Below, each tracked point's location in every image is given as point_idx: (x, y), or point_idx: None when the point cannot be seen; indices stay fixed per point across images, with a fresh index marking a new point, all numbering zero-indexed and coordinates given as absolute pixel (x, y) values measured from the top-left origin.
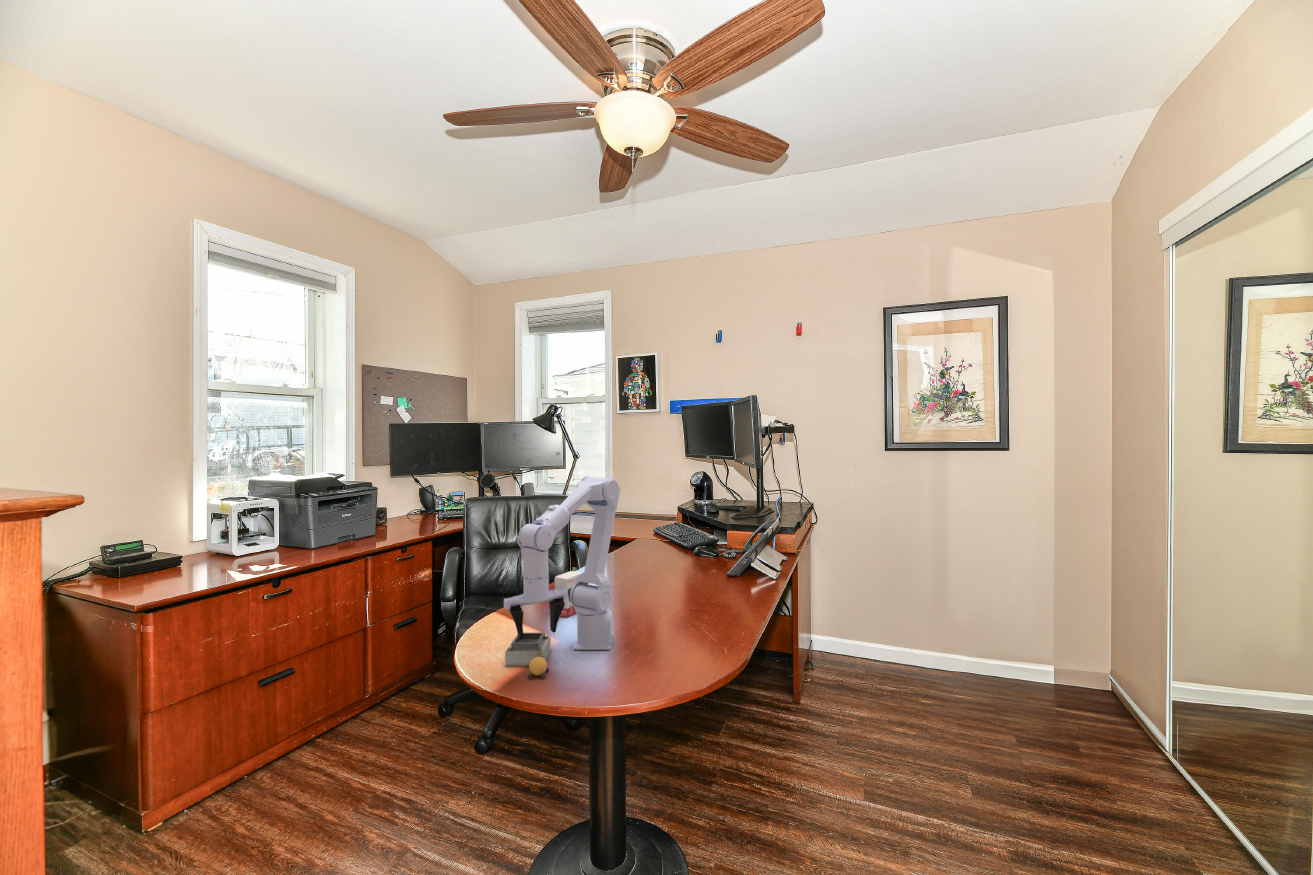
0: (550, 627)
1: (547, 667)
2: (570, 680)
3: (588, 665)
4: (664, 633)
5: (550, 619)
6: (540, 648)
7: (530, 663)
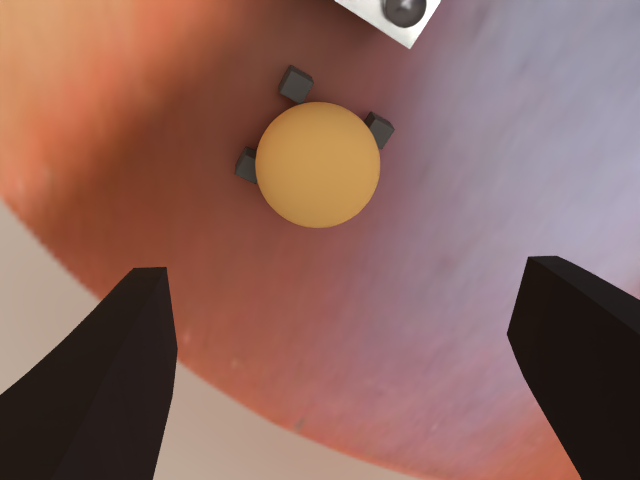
0: (540, 272)
1: (386, 129)
2: (439, 284)
3: (613, 173)
4: None
5: (604, 319)
6: (409, 13)
7: (263, 174)
